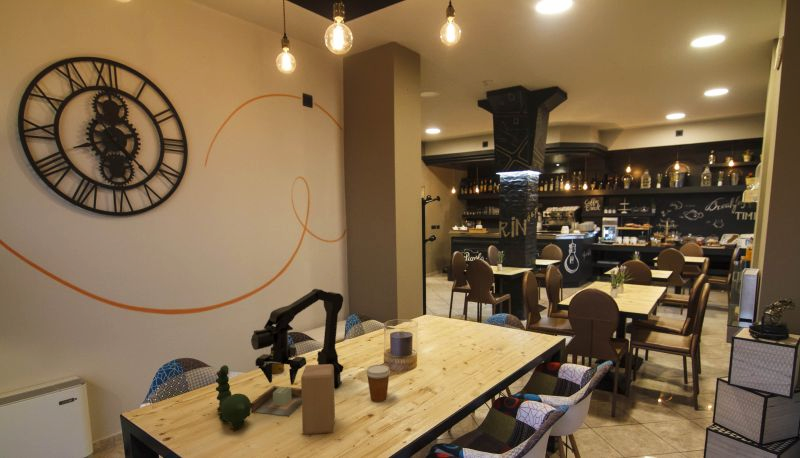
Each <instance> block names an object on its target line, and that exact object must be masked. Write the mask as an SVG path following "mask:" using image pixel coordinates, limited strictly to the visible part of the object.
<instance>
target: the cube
mask: <svg viewBox="0 0 800 458" xmlns="http://www.w3.org/2000/svg"><path fill="white" fill-rule="evenodd" d="M286 387H287V386H280V387H279V388H278V389H277V390H275V391H274V392H273V406H283V407H285V406H286V405H288V404H289V403H290V402H291V401H292V393H291V388H292V387H290V388H286Z"/></svg>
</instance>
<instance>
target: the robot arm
mask: <svg viewBox="0 0 800 458" xmlns="http://www.w3.org/2000/svg"><path fill="white" fill-rule="evenodd" d="M318 301H323V308H324V310H325V313H326V315H325V326H324V337H323V338H324V339H323V345H322V348H321V350H319V351H317V359H316V362H317V365H323V364H332V365H333V366H334V390H336V389H339V387H340V386H341V385H342V384H343V381H341V379H342V378H341V374H342V373H343V371H344V366H343V365H342V364H340V362H339V354H338V351H337V348H336V341H337V339H336V338H337V331H338V329H337V328H338V320H339V318H338V317H339V313H340V312H341V310H342V308H343V304H344V296H343V295H342V294H341V293H338V292H334V291H324V290H322V289H319V288H313V289H312V290H311V291H310V292H308V293H307V294H305V295H303V296H301V297H300V298H299V299H296V300H295V301H294V302H292V303H290V304H287V305H286V306H281V307H279V308H276V309H274V310H272V311H271V312H270V315H269V318H268V320H267V321H266V323H265V325H264V326H263V329H256V330H253V334H252V335H251V339H250V343H251V347H252V349H253V350H255V351H257V350H261V349H265V348H269V347H270V352H271V351H273V356H272V355H270V354H268V353H267V354H266V353H265V354H264V353H263V354H261V355H260V356H258V357H257V358H256V359H255V360H254V361H255V363H254V364H255V366H256V367H258V369H260V370H261V371H262V373H263V374H264V376H265V378H266V379H267V381H268V382H269V384H271V383H272V382H273V376H272V365H273V363H275V364H284V365H289V369H288V370H289V371H288V372H289V380H290V381H289V382H290V385H291V386H293V385H294V383H295V380H296V377H297V374H298V371H299V370H301V369H302V368H303V367H305V366H307V359H306V357H305V356H296V354H297V353H296V352H297V347H293V346H292V347H291V344H290V343H289V331H293V330H294V327H292V326H291V325H290V323H292V322H293V320H294V318H295V317H296V316H297V315H299V314H300V313H301V312H302V311H304V310H306V309H307V308H308V307H310V306H312V305H313V304H315V303H316V302H318ZM292 356H293V357H294V358H292Z"/></svg>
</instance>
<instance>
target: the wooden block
mask: <svg viewBox="0 0 800 458" xmlns="http://www.w3.org/2000/svg"><path fill="white" fill-rule="evenodd" d="M300 382H301V385H300V388H301V392H302V404H301V419H302V420H301V421H302V424H301V425H302V426H301V427H302V433H303V434H304V435H309V434H310V435H314V434H327V433H328V434H329V433H332V432H333V431H334V426H335V420H336V419H335V418H336V412H335V411H336V406H335V404H336V403H335V389H334V366H333V365H332V364H323V365H318V364H309V365H307V364H306V365H305V366H304V370H303V372H302V374H301V376H300Z"/></svg>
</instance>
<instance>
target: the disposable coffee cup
mask: <svg viewBox="0 0 800 458" xmlns="http://www.w3.org/2000/svg"><path fill="white" fill-rule="evenodd" d="M390 373H391V370H390V367H389V366H388V365H386V364H374V365H370V366H368V367H367V369H366V371H365V374H366V376H367V382H368V390H369V396H370V401H371V402H373V403H382V402H386V401H387V399H388V389H389V388H388V387H389V377H390Z"/></svg>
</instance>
